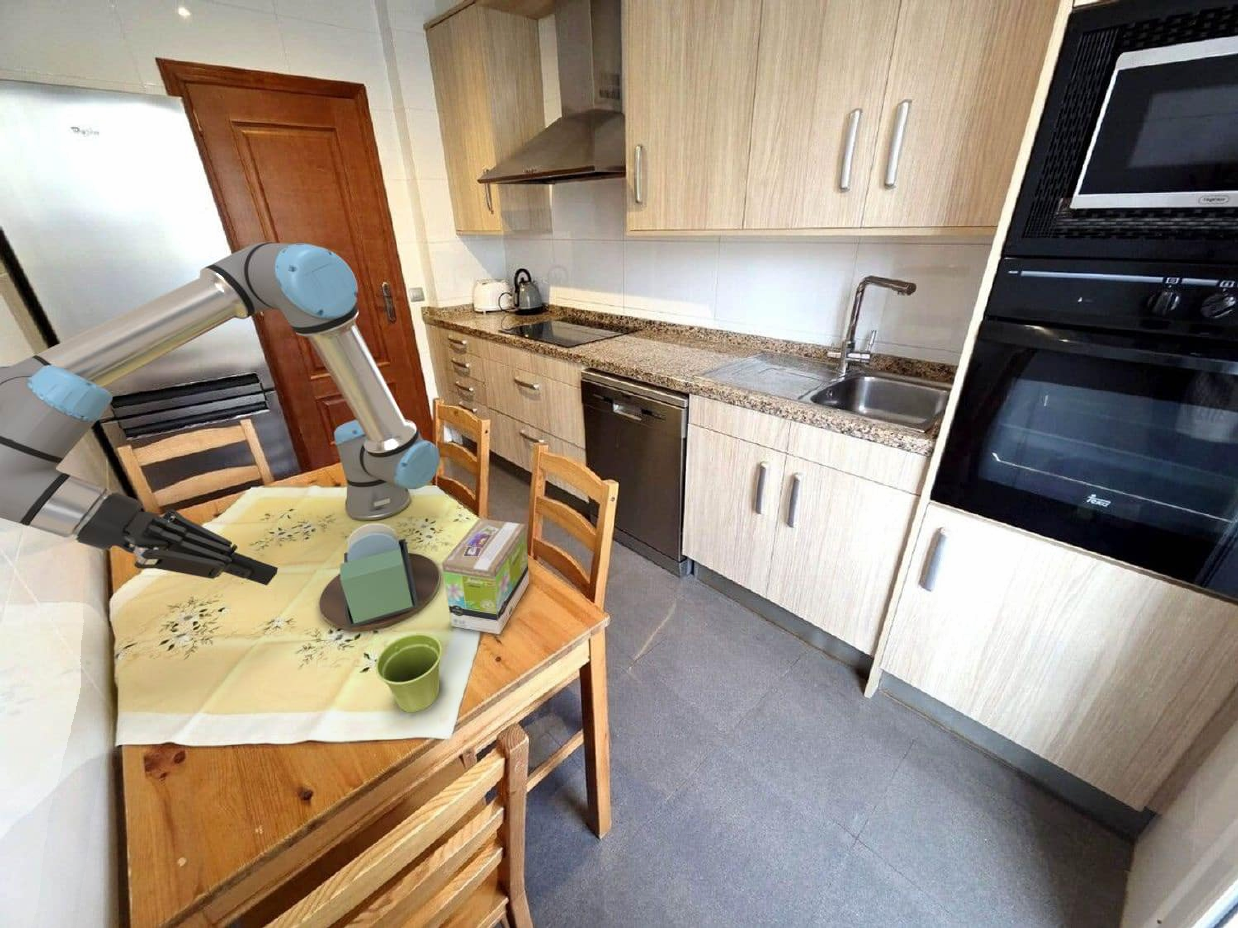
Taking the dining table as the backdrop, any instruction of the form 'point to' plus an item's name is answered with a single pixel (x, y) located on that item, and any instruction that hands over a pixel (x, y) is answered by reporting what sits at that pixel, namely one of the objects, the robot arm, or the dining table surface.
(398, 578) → the dish rack
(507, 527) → the tea box
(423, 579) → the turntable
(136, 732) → the dining table surface
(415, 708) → the plant pot
